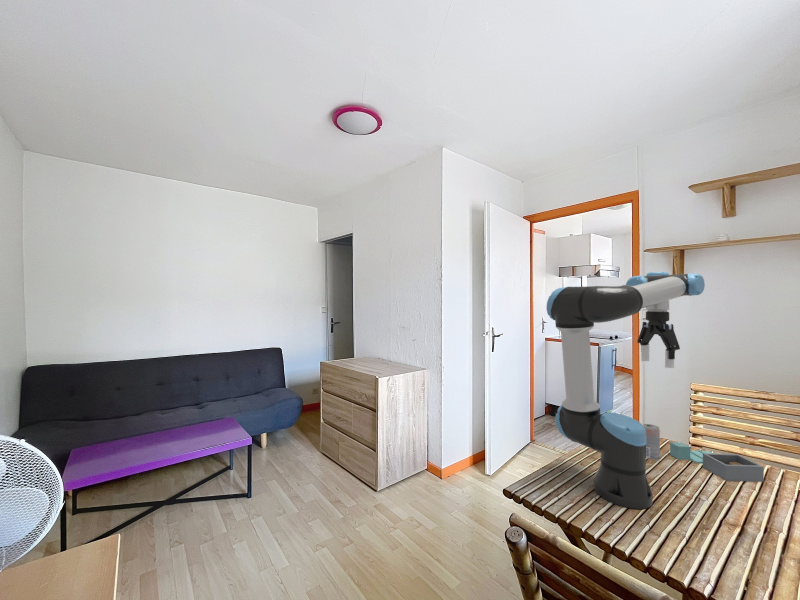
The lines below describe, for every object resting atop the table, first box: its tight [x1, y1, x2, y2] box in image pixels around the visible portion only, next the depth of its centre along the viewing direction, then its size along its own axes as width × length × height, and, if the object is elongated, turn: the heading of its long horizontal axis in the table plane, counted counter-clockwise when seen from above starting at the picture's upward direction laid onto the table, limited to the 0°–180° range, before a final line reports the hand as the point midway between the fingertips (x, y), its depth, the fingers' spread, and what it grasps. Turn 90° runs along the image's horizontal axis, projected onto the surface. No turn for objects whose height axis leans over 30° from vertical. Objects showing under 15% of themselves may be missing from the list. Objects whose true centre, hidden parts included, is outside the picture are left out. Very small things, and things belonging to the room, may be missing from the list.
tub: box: [702, 453, 765, 483], centre depth 117 cm, size 12×9×6 cm
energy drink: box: [642, 423, 661, 460], centre depth 129 cm, size 5×5×12 cm
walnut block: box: [728, 462, 742, 465], centre depth 118 cm, size 3×3×3 cm
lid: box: [669, 441, 715, 465], centre depth 129 cm, size 17×9×6 cm, turn 87°
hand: (656, 364), depth 135 cm, fingers open, 13 cm apart
